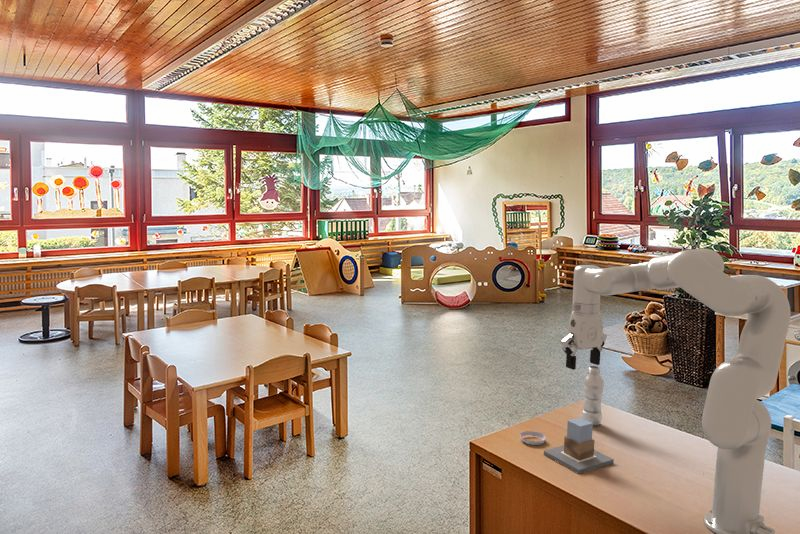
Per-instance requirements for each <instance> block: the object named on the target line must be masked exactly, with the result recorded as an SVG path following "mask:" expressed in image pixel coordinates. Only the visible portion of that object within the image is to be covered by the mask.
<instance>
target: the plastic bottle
mask: <svg viewBox="0 0 800 534" xmlns="http://www.w3.org/2000/svg"><path fill="white" fill-rule="evenodd" d="M587 371H588V374H587V375H586V377H584V379H583V390H584V391H583V392H584V398H583V407H582V410H581V411H582V412H581V416H580V417H581V418H582V419H584V420H586V421H589V422H591V423H593V427H594V426H599V425H600V424H601V422H602V420H603V413H602V403H601V402H602V396H603V390H604V387H605V383H604V380H603V378H602V376H601V367H599V365H590V366H588V370H587Z"/></svg>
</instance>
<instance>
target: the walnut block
mask: <svg viewBox="0 0 800 534" xmlns="http://www.w3.org/2000/svg"><path fill="white" fill-rule="evenodd" d="M563 445H564V453H565V454H567V455H569V456H571V457H573V458H575V459H577V460H583V459H586V458H589V457H593V456H594V450H595V439H593V438H592V440H589V441H585V442H582V443H579V442H577V441H575V440H573V439H570V438H568V437H567V435H566V436H564V438H563Z"/></svg>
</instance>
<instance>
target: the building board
mask: <svg viewBox="0 0 800 534" xmlns="http://www.w3.org/2000/svg"><path fill="white" fill-rule="evenodd" d="M543 456H546V457H547V456H548V457H547V458H549V457H550V458H549V459H551V458H552V459H551V460H553V459H554V460H553V461H555V460H556V461H558V462H559V463H558V462H557V463H558V464H560V463H561V464H560V465H562V464H563V465H562V466H564V465H565V466H566V467H565V466H564V467H565V468H567V467H568V468H567V469H569V468H570V470H571V469H572V470H571V471H573V472H574V471H575V473H576V472H577V474H579V475H581V474H583V473H587V472H590V471H593V470H597V469H599V468H603V467H605V466H609V465H612V464H614V460H615V459H614V458H612V457H609V456H608V455H606V454H604V453H602V452H599V450H596V449H594V456H593V457H589V458H586V459H583V460H577V459H575V458H573V457H571V456H569V455H567V454H565V453H564V444H563V445H560V446H556V447H552V448H549V449H545V450H543ZM556 461H555V462H556Z"/></svg>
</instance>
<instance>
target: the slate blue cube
mask: <svg viewBox="0 0 800 534" xmlns="http://www.w3.org/2000/svg"><path fill="white" fill-rule="evenodd" d="M593 428H594V426H593V423H591V422H589V421H586V420H584V419H582V417H577V418H573V419H569V420H567V428H566V429H567V430H566V431H567V432H566V436H567V437H568V438H570V439H573V440H575V441H577V442H579V443H582V442H585V441H589V440H592V439H593Z"/></svg>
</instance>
